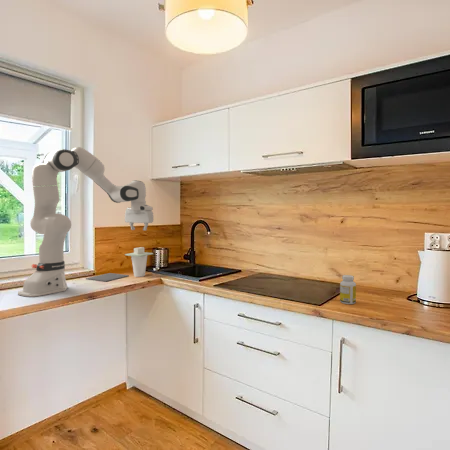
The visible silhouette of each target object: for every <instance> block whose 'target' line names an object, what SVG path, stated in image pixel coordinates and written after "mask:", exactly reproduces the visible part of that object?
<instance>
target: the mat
mask: <svg viewBox="0 0 450 450" xmlns="http://www.w3.org/2000/svg"><path fill="white" fill-rule="evenodd" d="M127 277H128V278H129V275H128V274H120V273H112V272H109V273H104V274H100V275H99V274H98V275H94V276H91V277H86V278H85V279H86V280H89V281H97V282H102V283H103V282H104V283H106V282H111V281H115V280H119V279H122V278H127Z"/></svg>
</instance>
